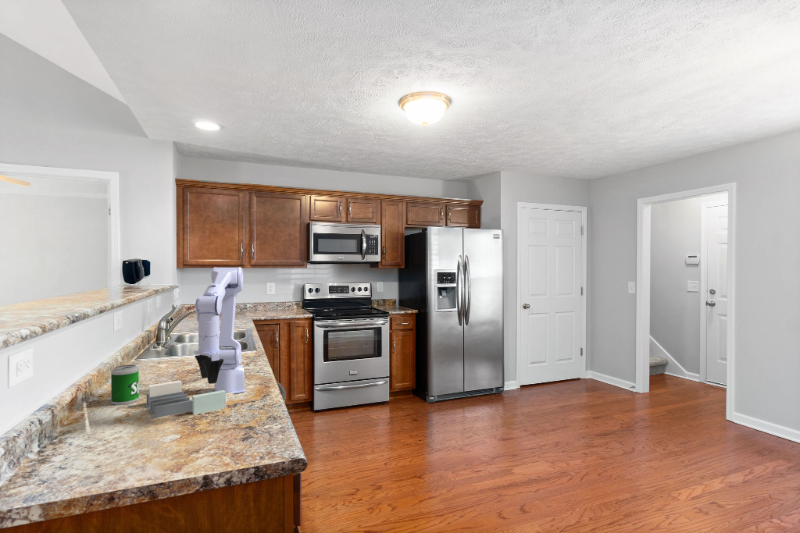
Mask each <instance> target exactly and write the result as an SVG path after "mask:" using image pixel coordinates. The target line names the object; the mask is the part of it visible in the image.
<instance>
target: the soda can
mask: <svg viewBox="0 0 800 533" xmlns="http://www.w3.org/2000/svg"><path fill="white" fill-rule="evenodd" d="M139 373H140V369H139V367H138V366H137V365H136V364H123V365H118V366H115V367H114V368H113V369H112V370H111V371H110V374H111V376H110V378H111V381H110V382H111V384H110V387H111V390H110V391H111V392H110V393H111V395H110V396H111V398H110V400H111V401H110V402H111V404H112V405H115V406H116V405H117V406H122V405H130V404H133V403H136V402H137V401H138V400H139V399H140V374H139Z"/></svg>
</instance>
